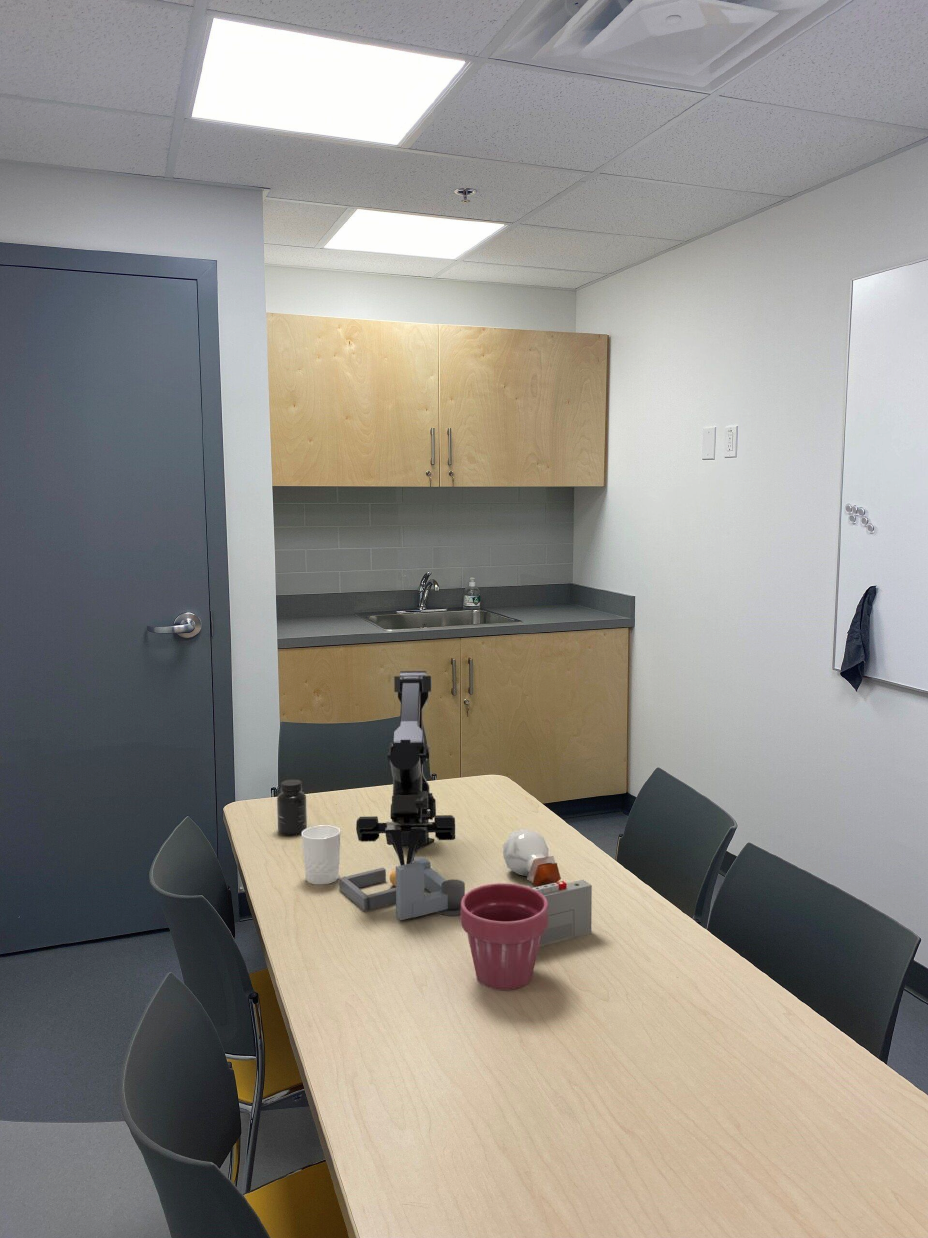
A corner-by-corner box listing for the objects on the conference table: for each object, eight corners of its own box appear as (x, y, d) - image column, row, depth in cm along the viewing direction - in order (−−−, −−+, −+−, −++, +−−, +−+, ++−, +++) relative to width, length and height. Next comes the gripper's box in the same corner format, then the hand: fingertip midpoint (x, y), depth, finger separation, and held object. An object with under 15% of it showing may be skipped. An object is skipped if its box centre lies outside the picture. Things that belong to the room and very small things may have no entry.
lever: (367, 888, 177) (366, 842, 176) (428, 874, 183) (427, 830, 182) (403, 922, 162) (402, 872, 161) (469, 906, 168) (468, 858, 167)
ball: (390, 867, 181) (403, 878, 182) (383, 881, 179) (396, 892, 180) (400, 863, 179) (412, 873, 180) (392, 877, 176) (405, 888, 177)
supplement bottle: (272, 835, 209) (270, 785, 207) (286, 825, 215) (284, 777, 214) (299, 838, 207) (297, 787, 205) (312, 828, 213) (310, 779, 212)
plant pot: (542, 1004, 136) (542, 924, 134) (452, 995, 139) (452, 917, 137) (552, 958, 150) (552, 886, 148) (470, 951, 153) (469, 879, 151)
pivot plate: (435, 900, 173) (435, 898, 173) (471, 899, 173) (471, 898, 173) (434, 916, 166) (434, 915, 166) (471, 916, 166) (471, 914, 166)
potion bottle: (519, 869, 191) (551, 905, 177) (486, 850, 187) (516, 885, 173) (544, 833, 191) (577, 866, 178) (512, 813, 187) (543, 846, 173)
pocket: (383, 879, 183) (383, 867, 183) (409, 899, 173) (409, 887, 173) (339, 890, 178) (339, 878, 177) (364, 911, 168) (364, 899, 168)
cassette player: (582, 927, 161) (583, 874, 160) (591, 933, 159) (591, 880, 158) (507, 946, 154) (507, 891, 153) (515, 953, 152) (514, 897, 151)
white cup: (345, 871, 187) (344, 825, 186) (336, 887, 179) (335, 839, 178) (308, 870, 188) (307, 824, 187) (298, 885, 180) (296, 838, 179)
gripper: (355, 776, 168) (350, 854, 159) (454, 774, 168) (455, 852, 159) (361, 802, 177) (356, 878, 167) (454, 801, 177) (455, 876, 168)
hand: (405, 871), depth 165 cm, fingers closed
